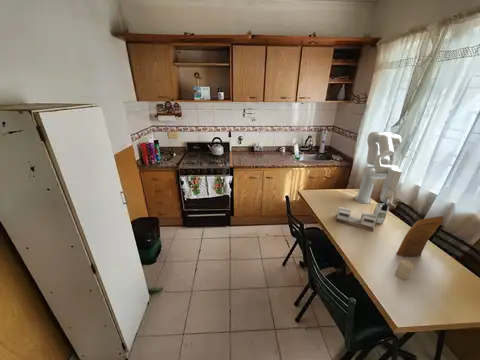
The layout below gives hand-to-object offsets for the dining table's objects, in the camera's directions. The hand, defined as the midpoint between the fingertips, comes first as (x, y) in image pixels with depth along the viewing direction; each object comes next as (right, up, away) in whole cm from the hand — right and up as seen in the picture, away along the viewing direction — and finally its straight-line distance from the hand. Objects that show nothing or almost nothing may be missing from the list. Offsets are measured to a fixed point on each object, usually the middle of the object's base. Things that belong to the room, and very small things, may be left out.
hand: (382, 207), depth 151 cm
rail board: (-19, -12, +4) cm, 23 cm away
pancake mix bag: (-1, -26, -25) cm, 36 cm away
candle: (-17, -32, -39) cm, 53 cm away
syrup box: (0, -12, +6) cm, 13 cm away
